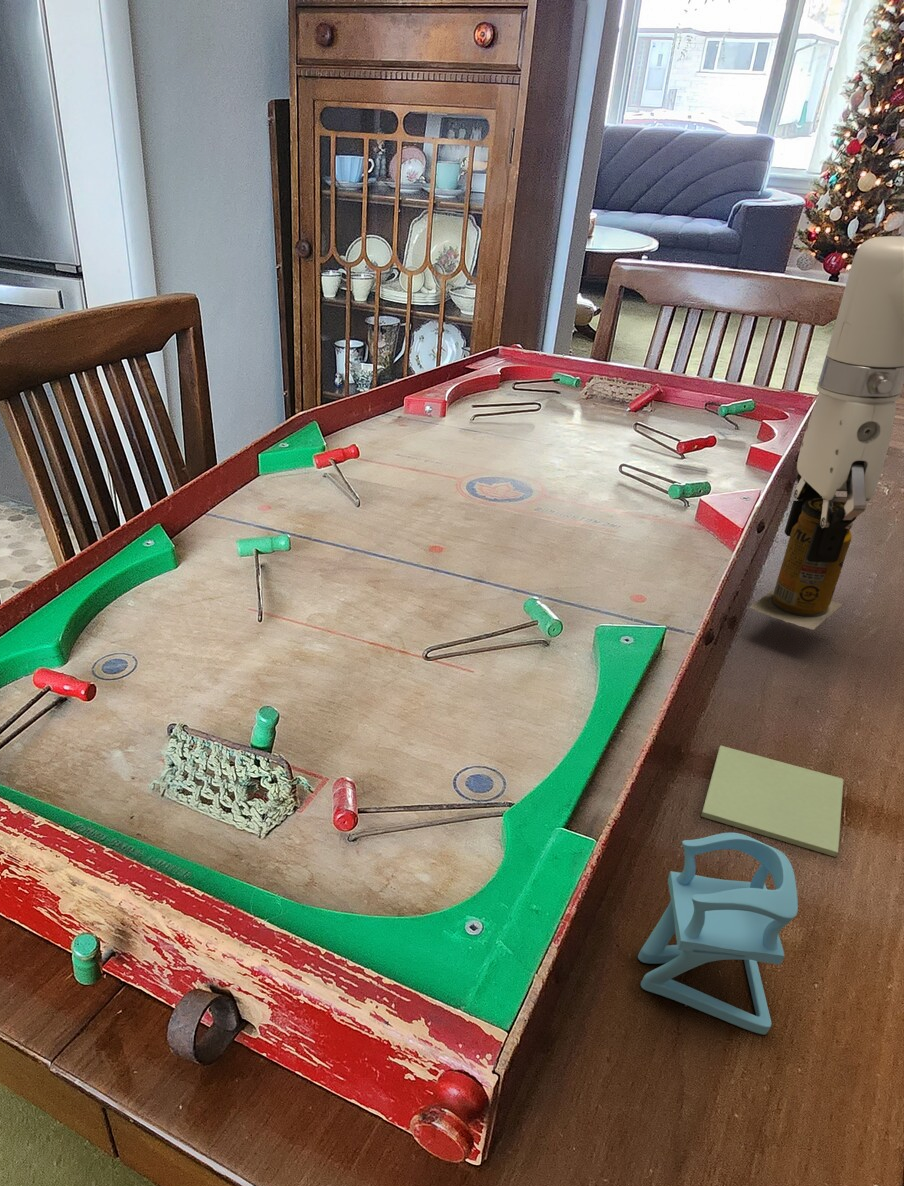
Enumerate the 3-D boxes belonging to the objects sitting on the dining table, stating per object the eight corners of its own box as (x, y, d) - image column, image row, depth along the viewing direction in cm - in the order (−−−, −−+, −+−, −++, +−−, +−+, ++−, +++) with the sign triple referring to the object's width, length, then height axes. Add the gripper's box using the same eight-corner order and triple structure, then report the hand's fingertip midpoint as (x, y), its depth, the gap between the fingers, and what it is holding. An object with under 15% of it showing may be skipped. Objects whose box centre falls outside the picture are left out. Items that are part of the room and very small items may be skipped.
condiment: (841, 605, 104) (874, 505, 97) (812, 631, 99) (845, 527, 92) (779, 586, 108) (806, 488, 101) (748, 610, 103) (775, 509, 96)
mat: (718, 749, 87) (720, 744, 87) (841, 783, 84) (843, 778, 83) (700, 816, 79) (702, 811, 79) (836, 857, 75) (838, 852, 75)
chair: (634, 931, 68) (670, 810, 61) (749, 948, 67) (798, 827, 60) (643, 1016, 62) (683, 892, 55) (769, 1036, 61) (827, 912, 54)
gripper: (941, 403, 82) (876, 583, 93) (864, 358, 97) (815, 518, 107) (858, 401, 83) (802, 581, 93) (793, 357, 97) (751, 517, 107)
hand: (809, 546), depth 100 cm, fingers closed on condiment, 6 cm apart
